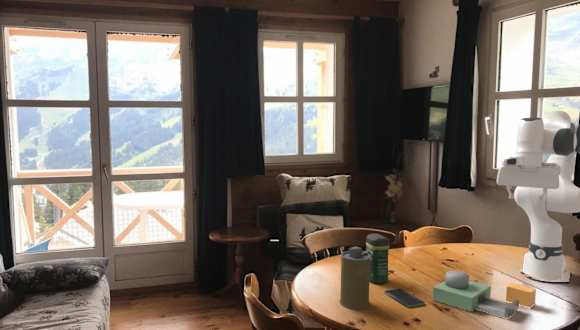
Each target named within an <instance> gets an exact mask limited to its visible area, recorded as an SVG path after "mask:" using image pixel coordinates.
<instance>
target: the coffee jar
mask: <svg viewBox="0 0 580 330" xmlns="http://www.w3.org/2000/svg"><path fill="white" fill-rule="evenodd" d="M365 244H366V252H369V254H370V255H371V258H370V280H369V282H371V283H373V284H385V283H387V282H388V281H389V249H390V239H389V238H388V237H386V236H384V235H381V234H379V233H369V234H367V236H366V240H365Z"/></svg>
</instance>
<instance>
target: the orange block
mask: <svg viewBox="0 0 580 330" xmlns="http://www.w3.org/2000/svg"><path fill="white" fill-rule="evenodd" d="M536 293H537V290H536V288H533V287H530V286H526V285H521V284H517V283H514V282H511V283H510V284H508V285H507V286H506V296H505V297H506V298H505V302H506V301H509V302H513V301H515V300H516V299H517V300H519V304H520V305H523V306H527V307H531V306H532V305H533V304H535V305H536V296H537V295H536Z"/></svg>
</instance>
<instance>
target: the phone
mask: <svg viewBox="0 0 580 330" xmlns="http://www.w3.org/2000/svg"><path fill="white" fill-rule="evenodd" d="M383 293H384V295H385V296H387V297H389V298H391V299H392V300H393V301H395V302H397V303H399V304H400V305H401V306H403V307H405V308H406V307H407V308H408V309H412V307H413V308H417V307H418V306H419V307H423V305H424V306H425V305H426V302H425V301H424V300H422V299H420V298H418V297H417V296H415V295H413V294H411V293H410V292H408V291H406V290H405V289H403V288H393V289H388V290H384V292H383ZM419 307H418V308H419Z"/></svg>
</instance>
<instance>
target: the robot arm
mask: <svg viewBox="0 0 580 330" xmlns="http://www.w3.org/2000/svg"><path fill="white" fill-rule="evenodd" d="M516 146H517V147H516V151H515V155H514V156H511V157H508V158H503V159H502V160H501V166H500V167H499V169H498V171H497V176H496V184H497V185H498V186H506V191H507V192H508V194H509V195H508V198H509V199H511V200H512V199H513V200H514V201H515V203H516V204H517V206H519V207H520V208H521V209H522V210H523V211H524V212H525V214H526V215H527V217H528V219H529V223H530V240H529V244H528V251H527V252H526V253H525V254H524V257H523V266H522V268H523V270H521V269H522V268H519V269H520V270H521V271H523V272H524V273H526V274H528V275H530V276H532V277H536V278H540V279H547V280H558V279H563V274H564V273H566V272H567V270H568V269H566V263H567V262H566V259H565V257H564V255H563V248H564V245H563V243H562V238H563V228H562V225H561V224H560V223H559V222H558V221H557V220H555V219H553V218H551V217H550V216H549V214H548V212H556V213H562V214H572V213H573V214H574V213H575V214H576V213H580V187H578V186H576V185H575V184H574V183H573V181H572V179H573V175H574V172H575V165H576V157H575V156H576V153H578V154H580V124H575V123H574V122H572V118H571V115H570V114H569V113H567V112H566V111H564V110H553V111H550V112H548V113H545V115H544V116H542V117H523V118H521V119H520V120H519V122H518V127H517V133H516ZM544 155H550V156H549V157H548V159H547V160H546V162H543V157H544ZM512 187H516V188H515V190H514V192H513V193H512V191H511V190H512Z"/></svg>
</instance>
